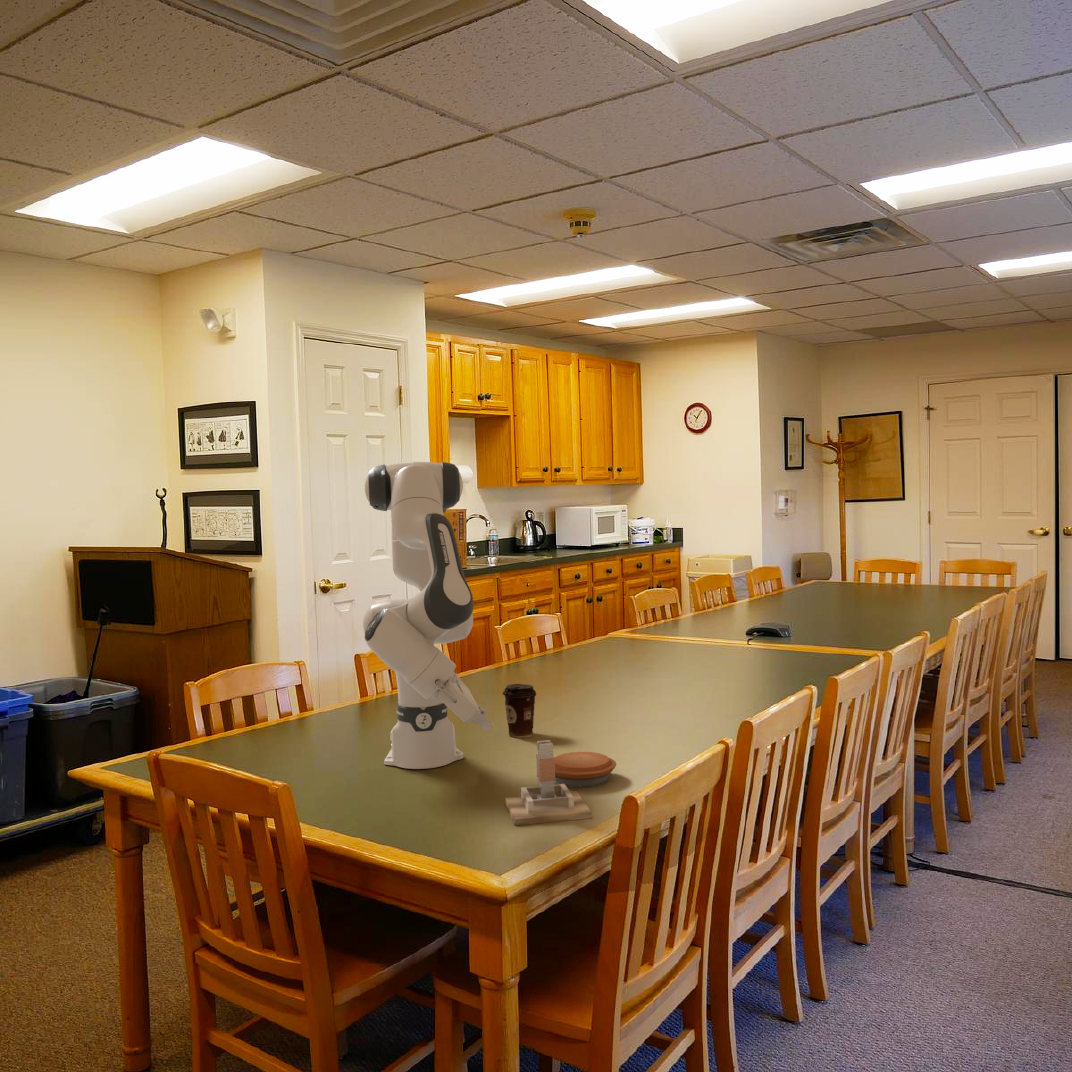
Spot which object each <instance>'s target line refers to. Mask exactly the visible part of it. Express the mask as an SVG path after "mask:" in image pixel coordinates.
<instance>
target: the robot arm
mask: <svg viewBox="0 0 1072 1072" xmlns="http://www.w3.org/2000/svg"><path fill="white" fill-rule="evenodd" d="M367 473H368V474H367V476H366V478H365V481H364V492H365V496H366V499H367V501H368V503H369V506H371V507H372V508H373V509H374V510H377V511H380V512H381V511H382V512H387V511H390V518H391V520H390V521H391V555H392V558H391V559H392V571H393V574H394V575H395V576H396V577H397V579H399V580H401V581H403V582H404V583H406V584H408V585H410V586H413V587H416V588H417V589H418V590H419V591H420V592H418V593H417V594H416V595H415V596H414V597H412V598H405V599H389V600H384V601H379V602H376V603H372V604H371V605H370V606H369V607H368V609H367V610H366V612H365V613H364V617H363V619H362V627H363V628H362V629H363V632H364V641H365V642H366V645H367V646H368V648H370V650H371V651H372V652H373V653H374V655H376V657H378V658H379V659H380V661H382V662H383V664H385V665H386V666H387V667H389V669H391V671H394V672H395V678H396V687H397V699H398V701H397V704H396V710H395V711H396V719H397V722H396V724H395V725H394V726H393V728H392V729H391V731H390V734H389V738H390V741H391V744H390V750H389V752H388V754H387V755H386V756H385V758H384V761H383V762H384V763H383V764H384V765H386V766H394V767H397V768H398V767H399V768H403V769H407V770H408V769H412V770H420V769H421V770H423V769H433V768H438V767H442V766H443V767H444V766H447V765H449V764H451V763H453V762H455V761H458V760H462V759H464V753H463V752H462V751H461V750H460V749H458V747H457V745H456V731H455V725H454V724H453V722H452V721H450V720H449V718H448V714H449V713H448V710H450V711H451V712H452V713H453V714H455V715H456V717H457V718H458V719H460V720H461V721H463V723H465V724H470V723H471V722H472V723H473V724H475V725H477V726H479V727H480V728H481V729H482V730H484V731H485V732H489V730H490V729H491V728H492V727H493V724H492V722H491V721H489V719H488V718H487V717H486V715H487V714H486V710H484V709H483V708H482V707H481V706H480V705H479V704H478V703H477V702H476V700H475V698H474V696H473V695H472V692H471V690H470V689H469V688H468V686H467V685H466V683H465V682H464V681H463V680H462V679H461V678H460V677H459V674H457V673H456V672H455V670H456V667H457V664H456V663H455V662H454V661H453V660H451V659H450V658H449V657H448V656H447V655H446V654H445V653H444V652H442V651H441V649H439V648H438V647H437V646H436V645H439V644H449V643H453V642H457V641H461V640H464V639H466V638H467V637H468V636H469V635H470V633H471V631H472V628H473V625H474V615H473V611H474V606H475V604H474V603H475V602H474V596H473V593H472V590H471V588H470V586H469V584H468V581H467V580H466V579H467V578H466V576H465V573H464V569H463V565H462V564H463V563H462V561H461V556H460V551H459V548H458V543H457V539H456V535H455V532H454V528H453V525H452V523H451V522H450V520H449V519H448V518H447V517H446V516H445V515H444V514H445V513H446V511H447V510H448V509H451V508H453V507H455V506H456V505H457V503H459V502H460V499H461V496H462V494H463V490H464V483H463V477H462V475H461V473H460V470H459V468H458V466H457V465H455V464H454V463H450V462H447V461H445V462H444V461H441V462H431V461H413V462H404V463H394V464H388V465H385V464H380V465H376V466H372V468H371V469H370V470H369V471H368V472H367Z"/></svg>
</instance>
